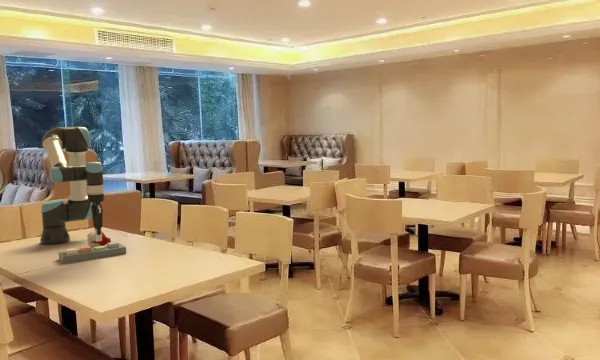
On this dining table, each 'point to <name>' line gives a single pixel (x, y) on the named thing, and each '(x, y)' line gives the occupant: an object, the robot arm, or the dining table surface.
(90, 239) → the candle
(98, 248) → the key sage
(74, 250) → the key ivory
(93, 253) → the keypad
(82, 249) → the key terracotta
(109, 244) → the key greyblue
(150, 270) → the dining table surface
